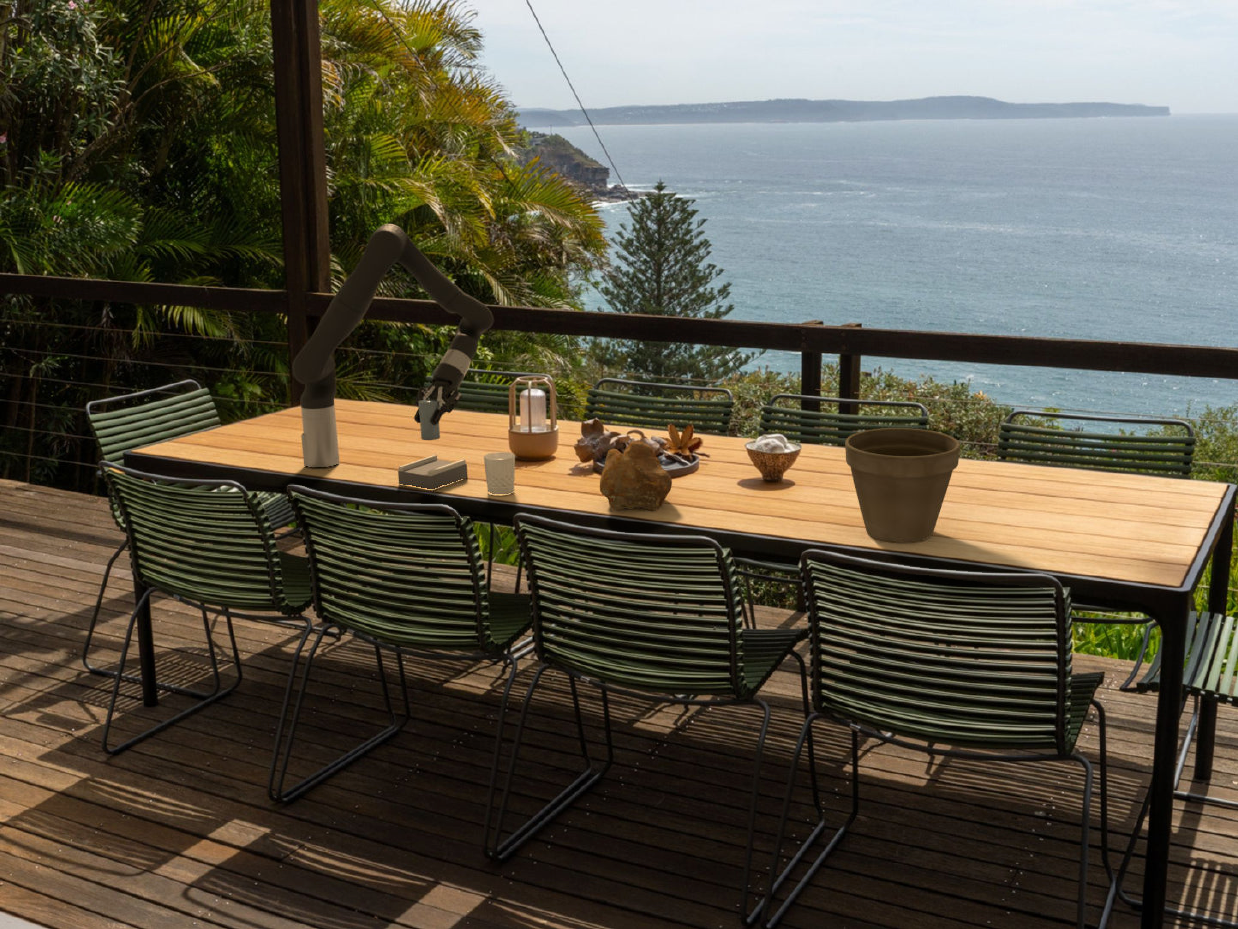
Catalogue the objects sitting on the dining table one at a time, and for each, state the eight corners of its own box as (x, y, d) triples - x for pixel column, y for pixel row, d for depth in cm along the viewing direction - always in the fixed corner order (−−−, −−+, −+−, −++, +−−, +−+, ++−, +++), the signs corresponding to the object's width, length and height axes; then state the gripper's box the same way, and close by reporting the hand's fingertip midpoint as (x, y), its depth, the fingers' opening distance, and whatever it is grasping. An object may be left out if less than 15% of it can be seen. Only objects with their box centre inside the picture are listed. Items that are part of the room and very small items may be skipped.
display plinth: (432, 491, 313) (431, 472, 311) (399, 485, 319) (397, 466, 318) (467, 478, 324) (466, 459, 322) (434, 472, 330) (433, 454, 329)
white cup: (492, 499, 304) (490, 461, 302) (481, 491, 311) (479, 454, 309) (521, 494, 308) (519, 456, 305) (509, 487, 315) (507, 450, 312)
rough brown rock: (653, 525, 283) (658, 464, 279) (589, 512, 289) (593, 453, 285) (685, 501, 304) (690, 444, 300) (625, 490, 310) (629, 434, 306)
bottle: (419, 440, 316) (416, 403, 313) (423, 435, 321) (420, 399, 318) (438, 440, 316) (435, 403, 313) (441, 435, 320) (439, 399, 318)
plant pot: (921, 559, 253) (926, 460, 247) (822, 537, 269) (823, 443, 263) (975, 530, 271) (980, 437, 265) (878, 510, 287) (881, 422, 281)
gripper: (424, 359, 323) (397, 412, 317) (465, 364, 315) (437, 417, 309) (439, 375, 329) (412, 427, 322) (479, 380, 321) (452, 433, 315)
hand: (424, 422), depth 316 cm, fingers closed on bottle, 5 cm apart
